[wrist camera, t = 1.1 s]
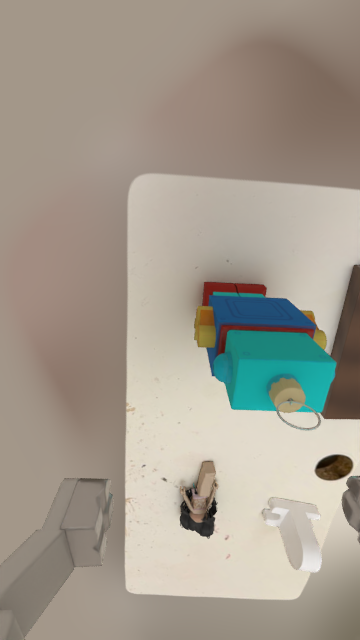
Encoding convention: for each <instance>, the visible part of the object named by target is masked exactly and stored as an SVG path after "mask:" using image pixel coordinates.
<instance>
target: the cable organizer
mask: <svg viewBox="0 0 360 640" xmlns="http://www.w3.org/2000/svg"><path fill="white" fill-rule="evenodd" d="M268 504H269V507H270V510H268V509H264V510H263V512H262V514H263V517H264V521H265V524H266V525H271V526H276V527H279V530H280V533H281V537H282V540H283V543H284V546H285V550H286V553H287V556H288V559H289V562H290V564H291V566H292V567H293V568H294V569H296V570H301V571H308V572H315V573H316V572H318V571H319V569H320V567H321V561H322V557H321V550H320V547H319V544H318V541H317V539H316V536H315V534H314V531H313V527H314V526H313V524H312V521H311V519H312V520H319V519H320V517H321V515H320V513H319V511H318V509H317V507H316V505H312V504H307V503H302V502H296V501H291V500H286V499H280V498H275V497H272V498H270V500H269V502H268Z"/></svg>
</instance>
